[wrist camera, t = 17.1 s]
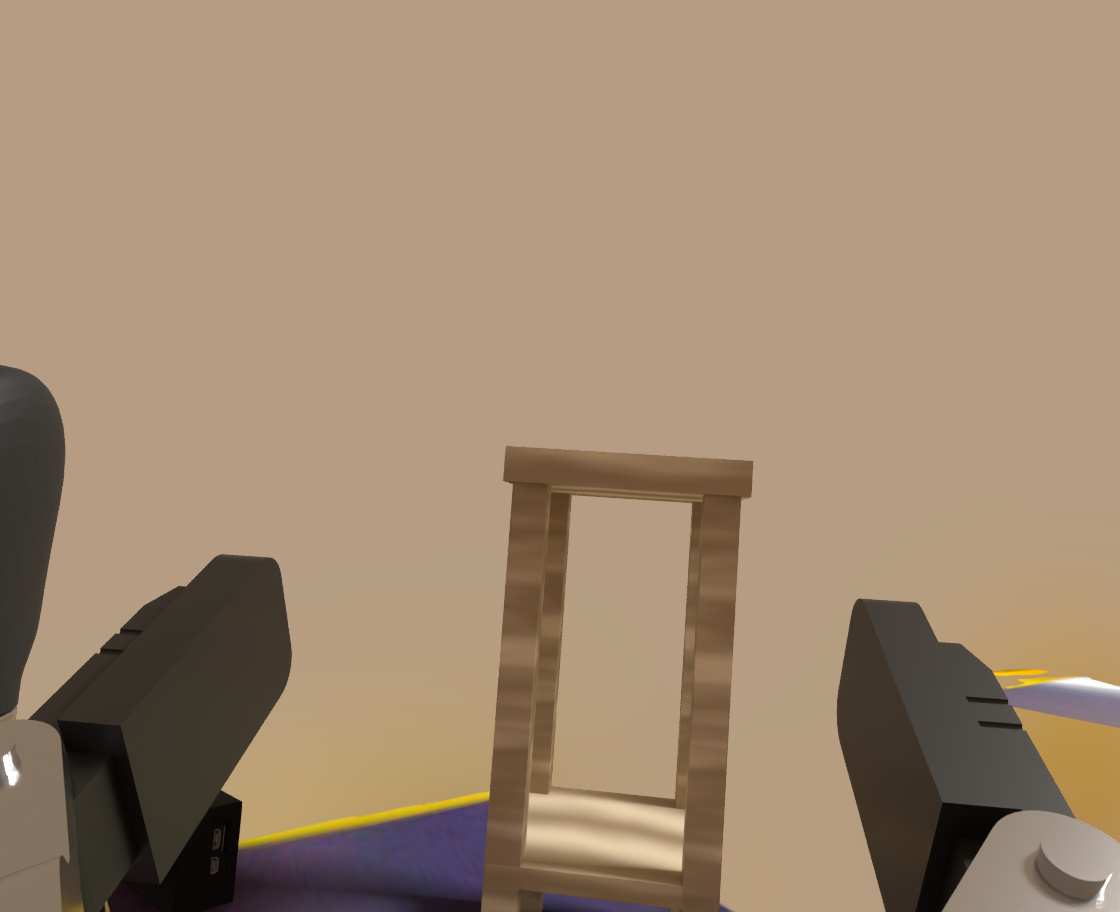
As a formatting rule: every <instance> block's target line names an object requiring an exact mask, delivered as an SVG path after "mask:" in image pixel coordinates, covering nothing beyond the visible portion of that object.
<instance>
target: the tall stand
mask: <svg viewBox="0 0 1120 912" xmlns="http://www.w3.org/2000/svg"><path fill="white" fill-rule="evenodd" d="M505 453H506V454H505V465H504V478H503V481H506V482H509V483H512V484H513V492H512V507H511V519H510V533H509V546H508V559H507V572H506V586H505V599H504V612H503V626H502V638H501V652H500V666H499V678H498V692H497V705H496V718H495V733H494V746H493V758H492V772H491V785H490V798H489V811H488V825H487V838H486V851H485V865H484V878H483V891H482V905H481V912H542V909H543V899H544V893H551V894H560V895H568V896H576V897H585V898H593V899H601V900H609V901H618V902H626V903H634V904H643V905H651V906H659V907H667V908H669V912H719V901H720V881H721V861H722V845H723V844H722V843H723V825H724V807H725V789H726V769H727V751H728V733H729V713H730V694H731V676H732V658H733V638H734V621H735V602H736V583H737V565H738V545H739V527H740V508H741V500H744V499H747V498H750V497H751V492H752V471H753V461H742V460H725V459H709V458H692V457H676V456H659V455H643V454H627V453H610V452H593V451H578V450H576V451H575V450H561V449H545V448H529V447H528V448H527V447H512V446H511V447H510V446H506V452H505ZM572 495H580V496H594V497H595V496H596V497H609V498H610V497H611V498H624V499H639V500H655V501H670V502H684V503H692V517H691V535H690V551H689V569H688V586H687V603H686V620H685V638H684V655H683V672H682V689H681V706H680V723H679V725H680V726H679V741H678V758H677V775H676V792H675V799H667V798H657V797H648V796H638V795H629V794H620V793H610V792H601V791H591V790H582V789H573V788H563V787H554V786H551V784H552V770H553V755H554V741H555V727H556V726H555V725H556V712H557V697H558V683H559V669H560V655H561V641H562V626H563V612H564V597H565V583H566V568H567V554H568V540H569V525H570V511H571V496H572Z"/></svg>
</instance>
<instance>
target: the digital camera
mask: <svg viewBox="0 0 1120 912" xmlns="http://www.w3.org/2000/svg"><path fill="white" fill-rule="evenodd" d="M241 811H242V801H240V800H238V799H236V798H234V797H232V796H231V795H229V794H227V793H225V792H223V791H221V790H220V792H219V793H218V795H217V796H216V798H215V800H214V801H213V803H212V804H211V806H210V807H209V809H208V810H207V812H206V814H205V815H204V817H203V818H202V820H201V821H200V823H199V825H198V826H197V828H196V829H195V831H194V832H193V834H192V836H191V837H190V839H189V840H188V842H187V843H186V845H185V847H184V848H183V850H182V851H181V853H180V854H179V856H178V857H177V859H176V861H175V862H174V864H173V865H172V867H171V868H170V870H169V872H168V873H167V875H166V876H165V878H164V879H163V881H162V883H161V884H160V885H158V884H149V883H140V882H131V881H124V882H125V883H126V884H128V885H129V886H130V887H132V888H133V889H134V890H135V891H137V892H138V893H139V894H140V895H142V896H143V897H144V898H146V899H147V900H148V901H149V902H151V903H152V904H153V905H155V906H156V907H157V908H159V909H160V910H161V911H163V912H200V911H203V910H206V909H209V908H212V907H216V906H219V905H222V904H225V903H229V902H232V901H233V893H234V883H235V873H236V863H237V853H238V843H239V833H240V823H241Z"/></svg>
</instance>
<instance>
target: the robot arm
mask: <svg viewBox="0 0 1120 912" xmlns="http://www.w3.org/2000/svg"><path fill="white" fill-rule="evenodd" d="M64 465H65V438H64V428H63V423H62V419H61V415H60V412H59V408H58V406H57V403H56V401H55V399H54V398H53V396H52V394H51V392H50V391H49V389H48V388H47V387H46V386H45V385H44V384H43V383H42V382H41V381H40V380H39V379H38V378H37V377H35V376H33V375H32V374H30V373H28V372H25V371H23V370H20V369H17V368H12V367H7V366H2V365H0V912H110V910H109V907H108V903H107V900H108V899H109V897H110V896H111V894H112V893H113V891H114V890H115V889H116V887H117V886H118V884H119V883H120V881H131V882H140V883H149V884H158V885H160V884H161V883H162V881H163V879H164V878H165V876H166V875H167V873H168V872H169V870H170V868H171V867H172V865H173V864H174V862H175V861H176V859H177V857H178V856H179V854H180V853H181V851H182V850H183V848H184V847H185V845H186V843H187V842H188V840H189V839H190V837H191V836H192V834H193V832H194V831H195V829H196V828H197V826H198V825H199V823H200V821H201V820H202V818H203V817H204V815H205V814H206V812H207V810H208V809H209V807H210V806H211V804H212V803H213V801H214V800H215V798H216V796H217V795H218V793H219V792H220V790H221V789H222V787H223V785H224V784H225V782H226V781H227V779H228V778H229V776H230V774H231V773H232V771H233V770H234V768H235V766H236V765H237V763H238V762H239V760H240V759H241V757H242V756H243V754H244V753H245V751H246V749H247V748H248V746H249V745H250V743H251V742H252V740H253V738H254V737H255V735H256V734H257V732H258V730H259V729H260V727H261V726H262V724H263V723H264V721H265V719H266V718H267V716H268V715H269V713H270V711H271V710H272V709H273V707H274V705H275V704H276V702H277V701H278V699H279V698H280V696H281V694H282V693H283V691H284V688H285V686H286V684H287V681H288V677H289V673H290V668H291V658H292V650H291V642H290V635H289V628H288V620H287V613H286V606H285V599H284V592H283V585H282V578H281V572H280V568H279V565H278V564H277V562H276V561H275V560H274V559H273V558H267V557H252V556H239V555H224V554H222V555H218V556H216V557H215V558H214V559H213V560H212V561H211V562H210V563H209V564H208V565H207V566H206V567H205V568H204V569H203V570H202V571H201V572H200V573H199V574H198V575H197V576H196V577H195V578H194V579H193V580H192V581H191V583H189V584H188V585H187V586H186V587H183V586H178V587H177V588H175V589H173V590H171V591H169V592H167V593H166V594H164V595H162V596H160V597H158V598H157V599H155V600H153V601H151V602H149V603H148V604H146V605H144V606H143V607H142V608H141V609H140V610H139V611H138V612H137V613H136V614H135V615H134V616H133V617H132V618H131V619H130V620H129V621H128V622H127V623H126V624H125V625H124V626H123V627H122V628H121V629H120V634H115V635H114V636H113V637H112V638H111V639H110V640H109V641H108V642H106V644H105V645H103V646H102V648H101V651H100V653H99V654H97V653H96V654H94V655H93V656H92V657H91V658H90V659H89V660H88V661H87V662H86V663H85V664H84V665H83V666H82V667H81V668H80V669H79V670H78V671H77V672H76V673H75V674H74V675H73V676H72V677H71V678H70V679H69V680H68V681H67V682H66V683H65V684H64V685H63V686H62V687H61V688H60V689H59V690H58V691H57V692H56V693H55V694H54V695H53V696H52V697H51V698H50V699H48V701H46V703H44V704H43V705H42V706H41V707H40V708H39V709H38V710H37V711H36V712H35V713H34V714H33V715H32V716H31V717H30V718H29V719H28V720H16V714H17V704H18V698H19V690H20V683H21V678H22V674H23V671H24V667H25V665H26V662H27V659H28V657H29V654H30V651H31V648H32V645H33V642H34V640H35V636H36V633H37V629H38V624H39V619H40V613H41V607H42V601H43V594H44V588H45V582H46V576H47V570H48V564H49V558H50V553H51V547H52V542H53V537H54V531H55V526H56V521H57V515H58V510H59V505H60V499H61V492H62V486H63V479H64ZM837 726H838V734H839V740H840V744H841V748H842V751H843V755H844V759H845V763H846V767H847V770H848V774H849V778H850V781H851V785H852V789H853V792H854V796H855V800H856V803H857V807H858V810H859V814H860V818H861V822H862V826H863V829H864V832H865V837H866V840H867V844H868V848H869V851H870V855H871V859H872V863H873V866H874V870H875V874H876V877H877V881H878V885H879V888H880V892H881V895H882V899H883V903H884V907H885V910H886V912H1120V843H1119V842H1117V841H1116V840H1114V839H1113V838H1111V837H1110V836H1108V835H1107V834H1105V833H1104V832H1102V831H1100V830H1098V829H1096V828H1095V827H1093V826H1091V825H1088V824H1086V823H1084V822H1082V821H1079V820H1077V819H1076V818H1075V816H1074V815H1073V813H1072V811H1071V809H1070V808H1069V806H1068V804H1067V802H1066V801H1065V799H1064V797H1063V795H1062V793H1061V792H1060V790H1059V788H1058V786H1057V785H1056V783H1055V781H1054V779H1053V778H1052V776H1051V774H1050V773H1049V771H1048V769H1047V767H1046V765H1045V764H1044V762H1043V760H1042V759H1041V757H1040V755H1039V753H1038V751H1037V750H1036V748H1035V746H1034V744H1033V742H1032V741H1031V739H1030V737H1029V735H1028V734H1027V732H1026V731H1023V730H1022V723H1021V721H1020V720H1019V718H1018V716H1017V715H1016V712H1015V711H1014V709H1013V707H1012V706H1011V705H1008V698H1007V697H1006V695H1005V693H1004V691H1003V690H1002V688H1001V686H1000V684H999V683H998V681H997V679H996V677H995V676H994V674H993V672H992V670H991V669H990V668H988V667H987V666H986V665H985V664H983V663H982V662H981V661H980V660H979V659H978V658H977V657H975V656H974V655H973V654H972V653H971V652H969V651H968V650H967V649H966V648H965V647H964V646H962V645H961V644H957V643H942V642H938V640H937V639H936V636H935V635H934V633H933V630H932V628H931V626H930V624H929V622H928V620H927V618H926V616H925V614H924V612H923V610H922V608H921V607H920V605H919V604H918V603H915V602H901V601H886V600H872V599H858V600H857V601H856V603H855V604H854V607H853V610H852V615H851V620H850V626H849V632H848V638H847V644H846V649H845V656H844V661H843V667H842V673H841V679H840V685H839V690H838V699H837Z"/></svg>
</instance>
